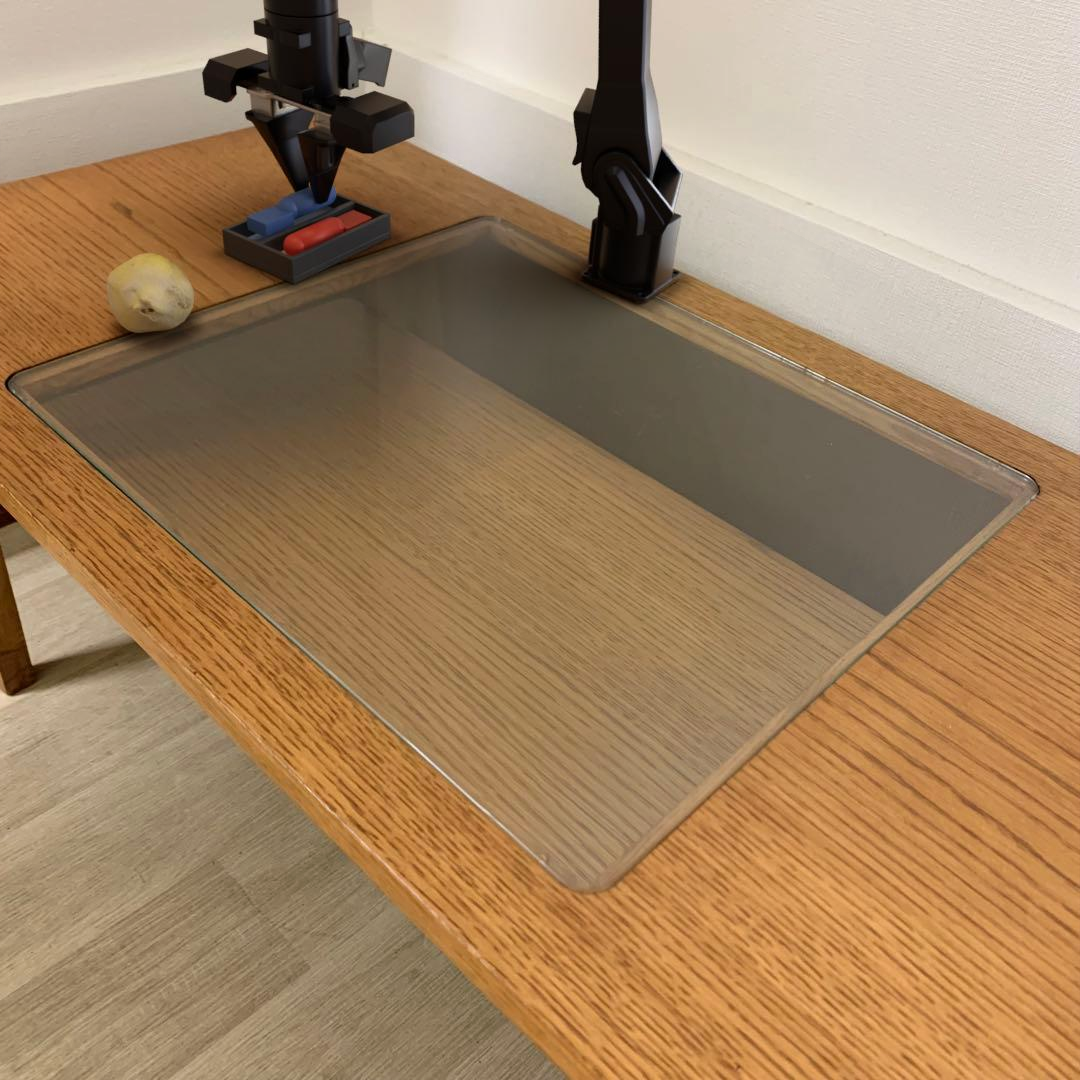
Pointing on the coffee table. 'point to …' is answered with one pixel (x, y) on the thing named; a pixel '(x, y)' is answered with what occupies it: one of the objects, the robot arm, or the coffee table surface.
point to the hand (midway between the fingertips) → (312, 198)
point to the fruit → (149, 294)
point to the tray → (315, 259)
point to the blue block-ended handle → (286, 212)
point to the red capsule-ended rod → (322, 232)
